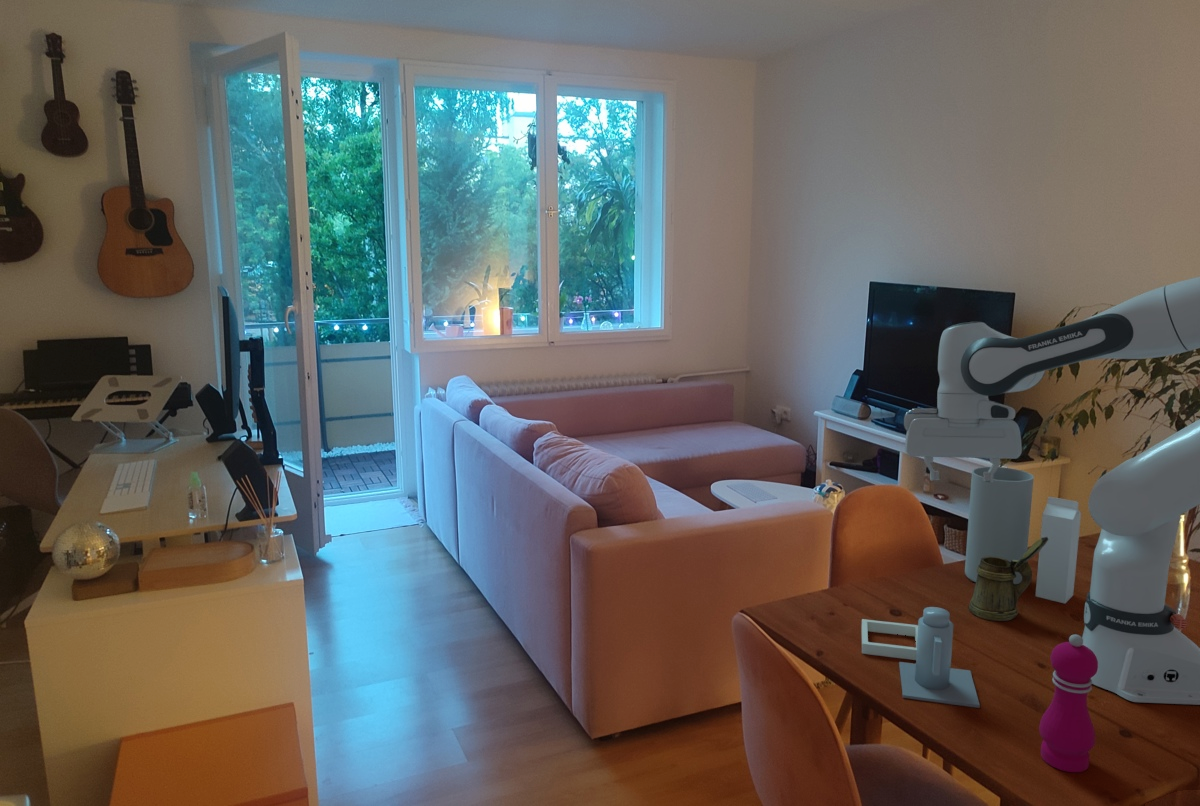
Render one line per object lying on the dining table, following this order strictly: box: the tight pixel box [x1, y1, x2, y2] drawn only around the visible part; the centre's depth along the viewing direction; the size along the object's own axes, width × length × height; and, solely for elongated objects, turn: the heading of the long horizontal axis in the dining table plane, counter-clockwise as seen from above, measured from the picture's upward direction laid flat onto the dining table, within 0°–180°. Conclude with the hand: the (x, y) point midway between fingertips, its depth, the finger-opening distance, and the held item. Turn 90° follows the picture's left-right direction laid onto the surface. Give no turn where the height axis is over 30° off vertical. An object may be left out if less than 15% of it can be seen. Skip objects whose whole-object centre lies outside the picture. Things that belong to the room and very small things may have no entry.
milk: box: [1035, 496, 1082, 604], centre depth 179 cm, size 6×6×22 cm
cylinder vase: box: [964, 466, 1035, 584], centre depth 189 cm, size 12×12×25 cm
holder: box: [861, 618, 918, 661], centre depth 160 cm, size 11×11×2 cm
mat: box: [898, 661, 981, 709], centre depth 145 cm, size 12×12×1 cm
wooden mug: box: [968, 537, 1048, 622], centre depth 171 cm, size 9×14×18 cm, turn 60°
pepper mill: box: [1038, 634, 1098, 773], centre depth 122 cm, size 7×7×20 cm
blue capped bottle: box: [915, 606, 954, 690], centre depth 143 cm, size 6×8×13 cm
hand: (961, 481), depth 158 cm, fingers open, 8 cm apart
